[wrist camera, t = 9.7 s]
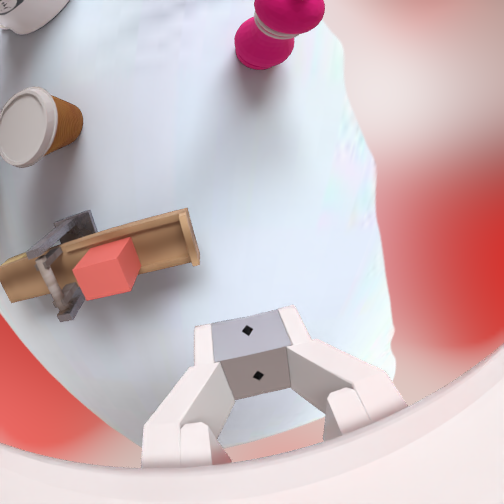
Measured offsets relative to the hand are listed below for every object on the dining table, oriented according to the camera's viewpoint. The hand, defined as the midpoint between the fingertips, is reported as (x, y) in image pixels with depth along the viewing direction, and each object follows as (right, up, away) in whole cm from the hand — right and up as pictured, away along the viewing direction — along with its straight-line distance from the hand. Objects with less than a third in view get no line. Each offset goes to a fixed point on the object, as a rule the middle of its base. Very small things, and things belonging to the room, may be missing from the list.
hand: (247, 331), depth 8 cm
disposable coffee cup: (-27, +21, +22) cm, 40 cm away
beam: (-24, +2, +27) cm, 36 cm away
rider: (-17, +2, +23) cm, 29 cm away
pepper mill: (+1, +30, +22) cm, 37 cm away
